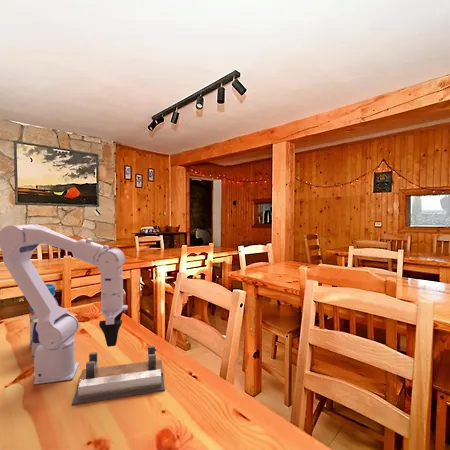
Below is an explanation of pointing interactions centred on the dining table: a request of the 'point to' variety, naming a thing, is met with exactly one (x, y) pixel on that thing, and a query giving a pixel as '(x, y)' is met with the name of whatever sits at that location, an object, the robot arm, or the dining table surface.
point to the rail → (119, 383)
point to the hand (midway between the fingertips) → (113, 339)
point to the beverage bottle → (32, 313)
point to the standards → (120, 367)
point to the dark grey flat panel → (117, 394)
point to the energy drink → (34, 337)
